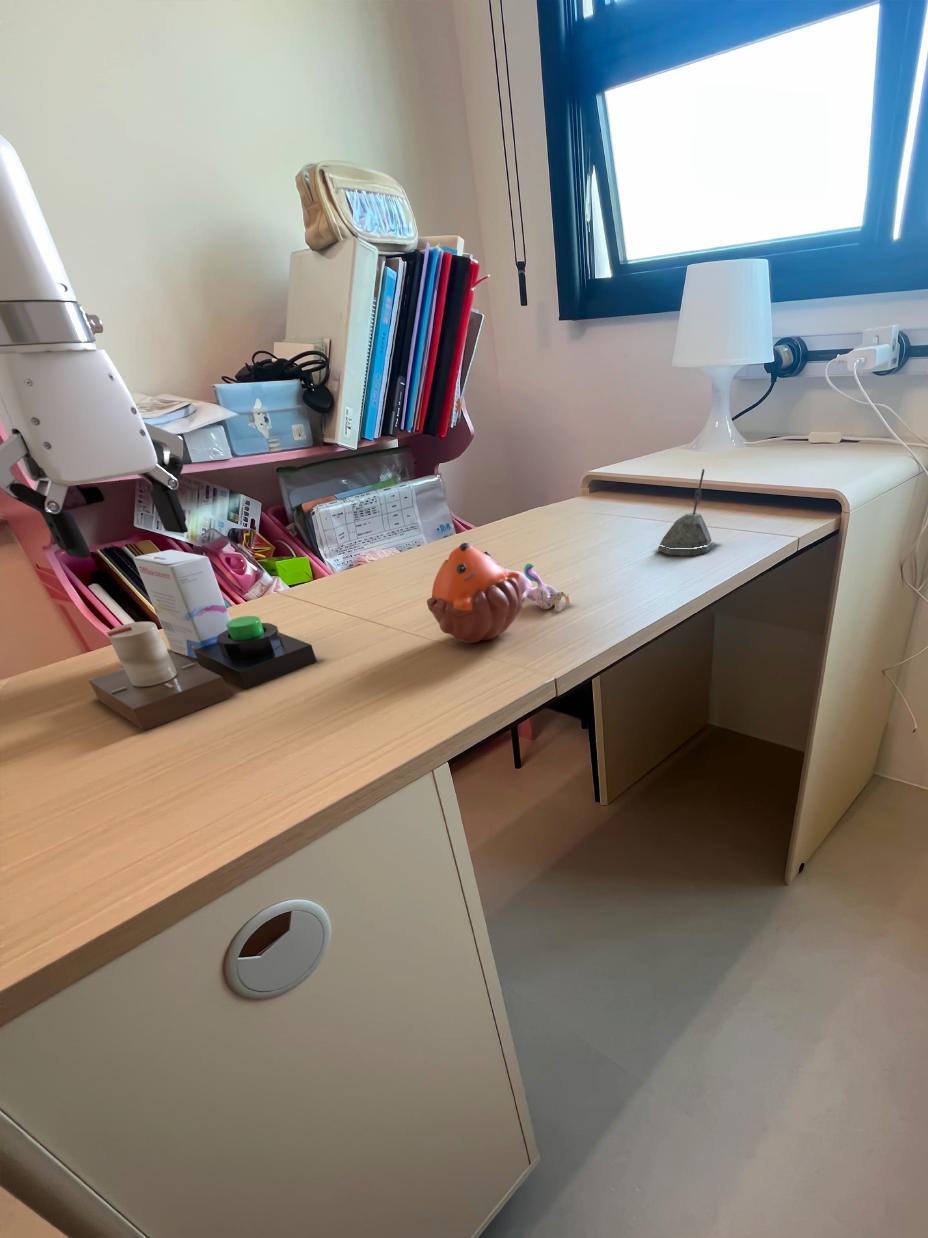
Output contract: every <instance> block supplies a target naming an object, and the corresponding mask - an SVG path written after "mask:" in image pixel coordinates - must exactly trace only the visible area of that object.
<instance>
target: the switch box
mask: <svg viewBox="0 0 928 1238" xmlns="http://www.w3.org/2000/svg"><path fill="white" fill-rule="evenodd" d="M261 624H262V627H263V630H264V633H263V634H261V635H259V636H256V637H253V638H249V639H243V640H232V639H231V636H230V633H229V631H228V629H227V630H226V631H224V632H223V633H221V634H219V635H218V637H217V642H216V643H213V644H210V645H207V646H204V647H201V648H198V649H195V650H194V652H195V655H196V657H197V659H196V660H197V661H198V665H199V666H201V667H203V668H205V669H207V670H209V671H211V672H213V673H216V674H218V675H220V676H222V678H223V680H224V679H225V680H226V681H228V682H230V683H232V684H235V685H236V686H239V687H241V688H242V689H245V690H248V689H250V688H253V687H256V686H259V685H261V684H263V683H266V682H268V681H271V680H273V679H276V678H278V677H281V676H284V675H286V674H289V673H291V672H293V671H296V670H300V669H301V668H304V667H307V666H310V665H312V664H314V663H317V657H316V655H315V652H314V648H313V645H312V644H311V643H308V642H305V641H303V640H301V639H297V638H294V637H292V636H289V635H288V634H285V633H282V632H280V631H279V629H278V626H277V625H275V624H272V623H270V622H261Z"/></svg>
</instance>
